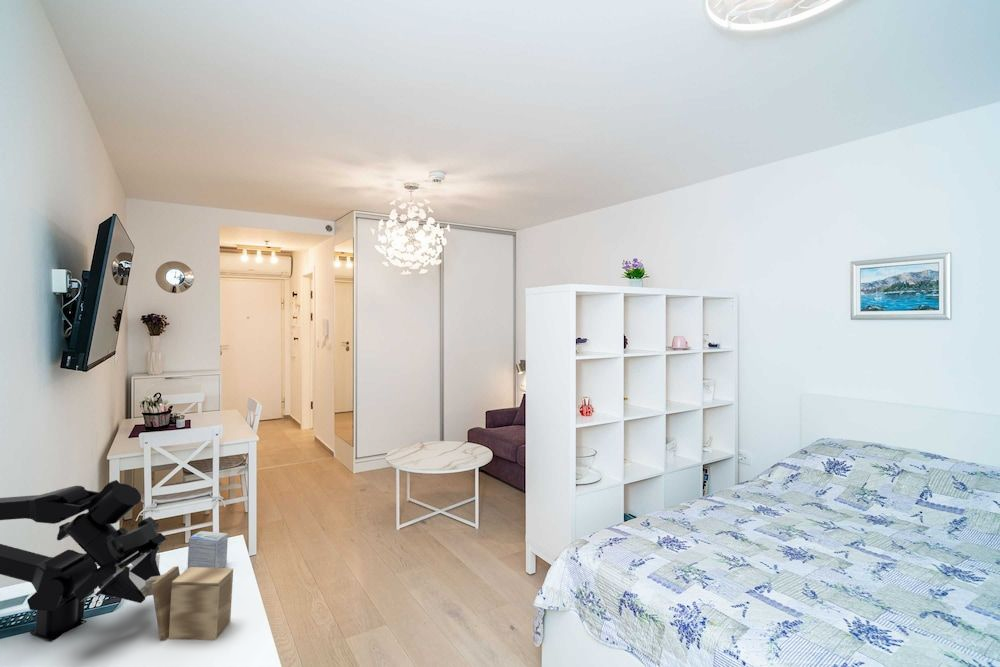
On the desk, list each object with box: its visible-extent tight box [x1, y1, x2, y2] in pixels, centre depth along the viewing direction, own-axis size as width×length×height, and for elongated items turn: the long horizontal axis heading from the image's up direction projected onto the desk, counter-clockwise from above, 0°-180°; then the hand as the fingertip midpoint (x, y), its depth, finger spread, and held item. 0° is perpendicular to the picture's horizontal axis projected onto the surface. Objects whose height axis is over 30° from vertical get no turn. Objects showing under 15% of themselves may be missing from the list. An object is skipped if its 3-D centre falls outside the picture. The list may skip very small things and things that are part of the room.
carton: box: [168, 567, 234, 641], centre depth 99 cm, size 9×6×12 cm, turn 93°
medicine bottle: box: [121, 552, 161, 590], centre depth 115 cm, size 7×7×12 cm
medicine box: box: [186, 530, 229, 570], centre depth 125 cm, size 8×4×9 cm, turn 84°
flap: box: [139, 565, 181, 641], centre depth 99 cm, size 5×7×11 cm
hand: (152, 593), depth 99 cm, fingers closed on flap, 5 cm apart
